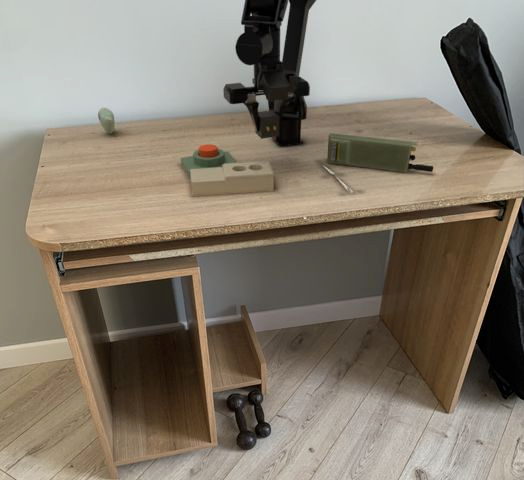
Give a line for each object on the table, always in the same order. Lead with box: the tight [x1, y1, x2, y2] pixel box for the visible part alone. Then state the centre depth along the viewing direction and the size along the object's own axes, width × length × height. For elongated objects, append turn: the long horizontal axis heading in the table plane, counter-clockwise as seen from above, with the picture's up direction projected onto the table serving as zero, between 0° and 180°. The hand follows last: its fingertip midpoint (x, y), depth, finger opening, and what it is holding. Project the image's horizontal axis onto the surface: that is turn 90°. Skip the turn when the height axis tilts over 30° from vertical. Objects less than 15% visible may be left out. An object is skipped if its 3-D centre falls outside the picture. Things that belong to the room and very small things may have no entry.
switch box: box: [180, 148, 238, 180], centre depth 121 cm, size 12×9×4 cm
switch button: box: [198, 143, 219, 158], centre depth 119 cm, size 4×4×2 cm
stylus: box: [322, 164, 354, 194], centre depth 117 cm, size 4×1×19 cm
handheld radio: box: [326, 132, 434, 174], centre depth 119 cm, size 7×3×25 cm
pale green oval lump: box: [97, 107, 116, 135], centre depth 138 cm, size 8×4×7 cm, turn 14°
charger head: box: [254, 110, 279, 140], centre depth 117 cm, size 4×6×5 cm
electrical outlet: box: [190, 160, 275, 197], centre depth 113 cm, size 7×4×18 cm
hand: (266, 130), depth 119 cm, fingers closed on charger head, 4 cm apart
